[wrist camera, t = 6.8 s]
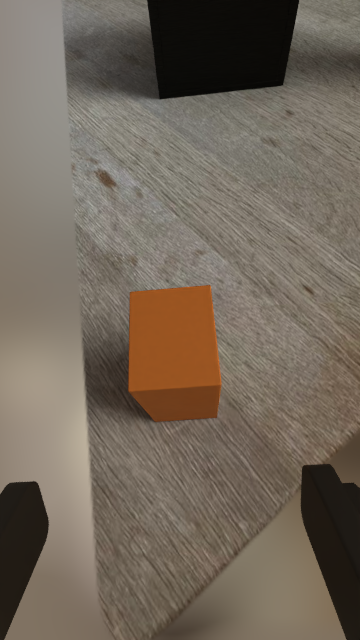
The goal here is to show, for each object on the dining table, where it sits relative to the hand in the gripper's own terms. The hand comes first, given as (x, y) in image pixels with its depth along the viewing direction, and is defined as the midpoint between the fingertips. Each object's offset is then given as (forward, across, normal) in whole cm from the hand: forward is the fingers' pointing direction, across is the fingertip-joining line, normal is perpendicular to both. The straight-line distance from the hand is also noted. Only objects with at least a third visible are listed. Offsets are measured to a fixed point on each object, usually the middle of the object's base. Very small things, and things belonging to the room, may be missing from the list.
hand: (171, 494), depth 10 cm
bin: (+40, +6, +25) cm, 47 cm away
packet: (+12, 0, -3) cm, 12 cm away
